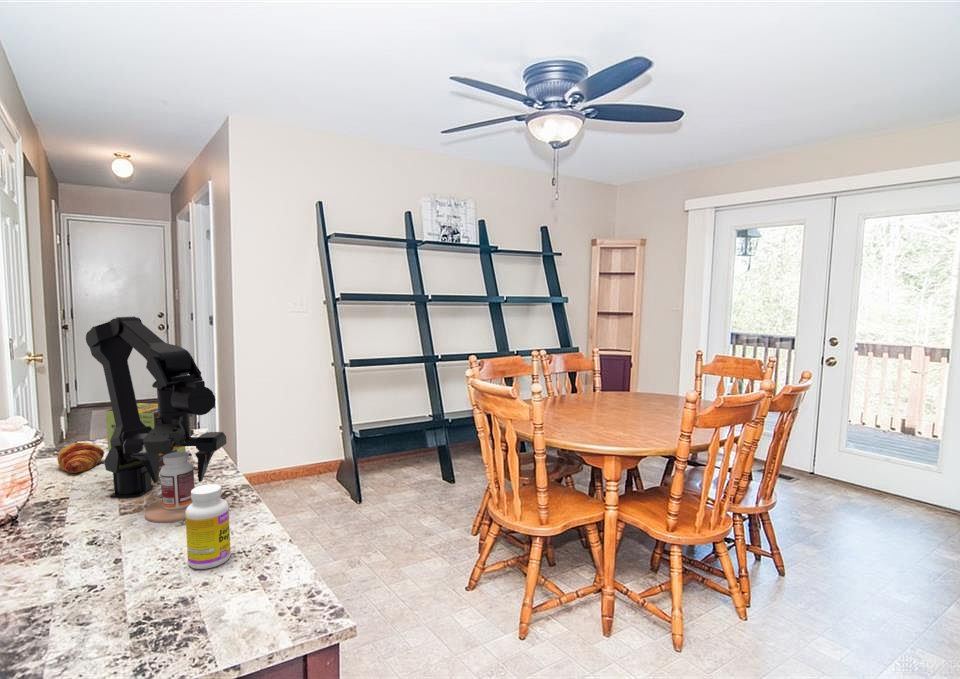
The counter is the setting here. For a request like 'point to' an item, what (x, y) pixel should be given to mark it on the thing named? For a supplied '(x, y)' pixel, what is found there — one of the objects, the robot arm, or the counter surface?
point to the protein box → (147, 418)
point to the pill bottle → (176, 481)
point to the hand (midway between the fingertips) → (178, 481)
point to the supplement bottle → (207, 528)
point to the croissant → (79, 457)
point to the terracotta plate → (163, 513)
